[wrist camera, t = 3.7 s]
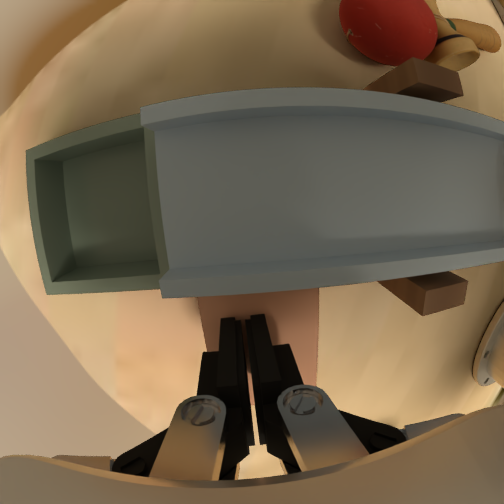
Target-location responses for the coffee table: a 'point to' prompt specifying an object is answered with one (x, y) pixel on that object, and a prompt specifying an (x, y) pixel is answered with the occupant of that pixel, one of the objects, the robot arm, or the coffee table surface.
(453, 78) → the stand
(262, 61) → the coffee table surface
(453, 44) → the kendama
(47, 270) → the green square tray
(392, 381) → the coffee table surface
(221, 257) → the lever
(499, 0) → the coffee box
